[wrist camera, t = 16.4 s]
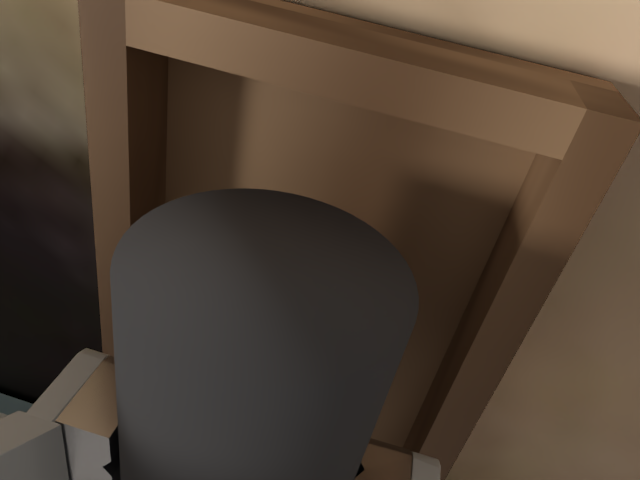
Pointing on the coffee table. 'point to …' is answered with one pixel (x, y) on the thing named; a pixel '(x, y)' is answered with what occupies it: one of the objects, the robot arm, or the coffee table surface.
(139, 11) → the tray
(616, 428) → the coffee table surface
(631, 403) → the coffee table surface
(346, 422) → the dark grey rounded bar
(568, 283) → the coffee table surface
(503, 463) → the coffee table surface
